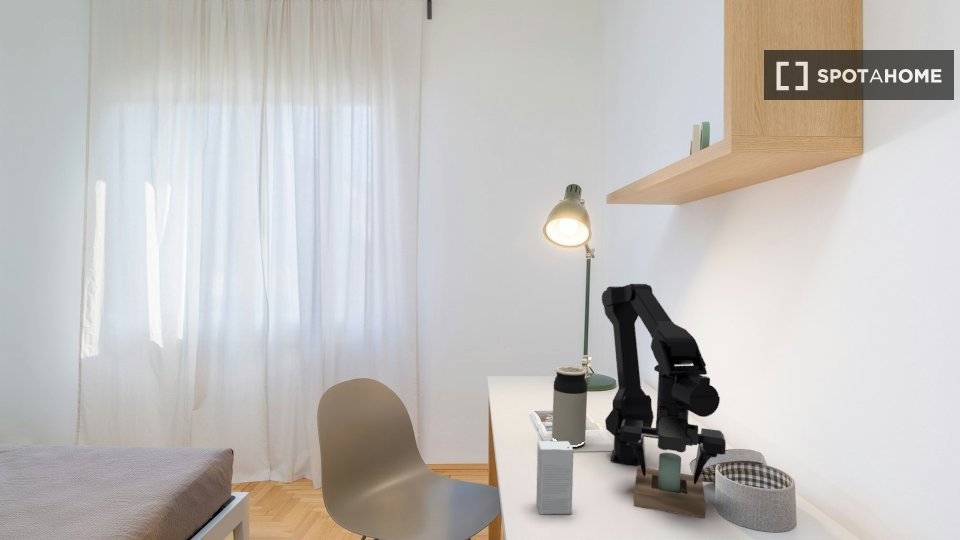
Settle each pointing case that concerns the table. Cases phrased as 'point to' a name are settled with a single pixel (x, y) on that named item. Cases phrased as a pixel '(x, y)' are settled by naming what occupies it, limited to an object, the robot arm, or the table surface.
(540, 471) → the skincare box
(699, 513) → the walnut holder
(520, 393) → the table surface
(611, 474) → the table surface
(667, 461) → the green peg
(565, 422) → the travel mug
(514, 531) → the table surface
